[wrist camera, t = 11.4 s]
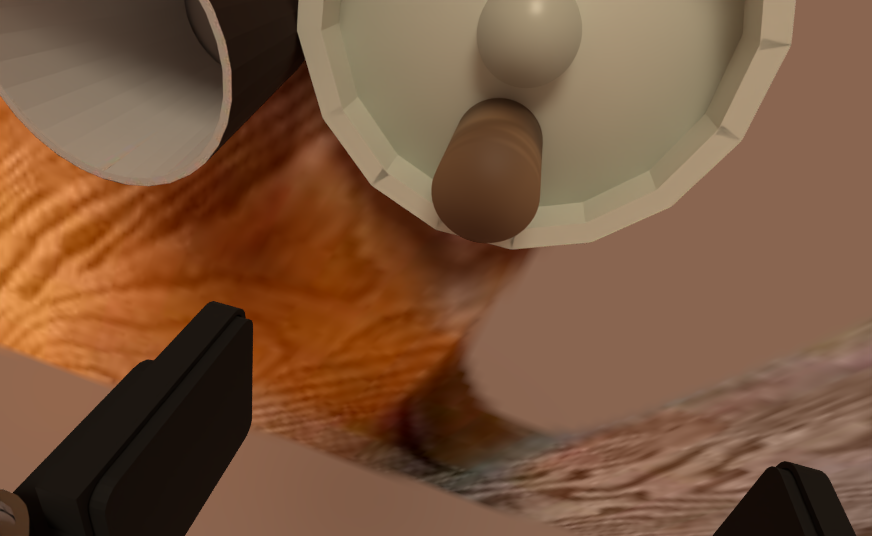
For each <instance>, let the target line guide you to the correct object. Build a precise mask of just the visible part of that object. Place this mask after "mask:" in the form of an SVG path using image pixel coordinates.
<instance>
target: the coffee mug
mask: <svg viewBox="0 0 872 536" xmlns="http://www.w3.org/2000/svg"><path fill="white" fill-rule="evenodd" d="M298 2H299V0H0V96H1V97H2V98H3V100H4V101H5V102H6V104H7V105H8V106H9V108H10V109H11V110H12V112H13V113H14V114H15V116H16V117H17V118H18V119H19V120H20V121H21V122H22V123H23V124H24V125H25V126H26V127H27V128H28V129H29V130H30V131H31V132H32V133H33V134H34V135H35V136H36V137H37V138H38V139H39V140H40V141H42V142H43V143H44V144H45V145H47V146H48V147H49V148H50V149H51V150H53V151H54V152H55V153H56V154H58V155H59V156H61V157H62V158H64V159H66V160H67V161H69V162H71V163H72V164H74V165H75V166H77V167H79V168H80V169H82V170H85V171H87V172H89V173H92V174H94V175H96V176H99V177H101V178H103V179H106V180H110V181H114V182H118V183H122V184H126V185H139V186H154V185H160V184H167V183H172V182H174V181H176V180H179V179H181V178H184V177H186V176H189V175H190V174H191V173H193V172H194V171H195V170H197V169H198V168H199V167H201V166H202V165H203V164H205V163H206V162H207V161H208V160H209V159H210V158H211V157H212V156H213V155H214V154H215V153H216V152H217V151H218V150H219V148H220V147H221V146H222V145H223V144H224V143H225V142H226V141H227V140H228V139H229V138H230V137H231V136H232V135H233V134H234V133H235V132H236V131H237V130H238V129H239V128H240V127H241V126H242V125H243V124H244V123H245V122H246V121H247V120H248V119H249V118H250V117H251V116H252V115H253V114H254V113H255V112H256V111H257V110H258V109H259V108H260V107H261V106H262V105H263V104H264V103H265V102H266V101H267V100H268V98H269V97H270V96H271V95H272V94H273V93H274V92H275V91H276V90H277V89H278V88H279V87H280V86H281V85H282V84H283V83H284V82H285V81H286V80H287V79H288V78H289V77H290V76H291V75H292V74H293V73H294V72H295V71H296V70H297V69H298V68H299V66H300V65H301V64H302V63H303V61H304V60H305V56H304V53H303V49H302V46H301V43H300V39H299V36H298V32H297V19H298Z"/></svg>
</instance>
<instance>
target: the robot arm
mask: <svg viewBox="0 0 872 536" xmlns="http://www.w3.org/2000/svg"><path fill="white" fill-rule="evenodd" d="M252 365H253V322H252V320H249V319H246V318H245V312H244V310H243V309H240V308H236V307H233V306H229V305H225V304H222V303H218V302H215V301H212V302H209V303H208V304H207V305H206V306H205V307H204V308H203V309H202V310H201V311H200V312H199V313H198V314H197V315H196V316H195V317H194V318H193V319H192V320H191V322H190V323H189V324H188V325H187V326H186V327H185V328H184V329H183V330H182V331H181V332H180V333H179V334H178V335H177V336H176V338H175V339H174V340H173V341H172V342H171V343H170V344H169V345H168V346H167V347H166V348H165V349H164V350H163V351H162V352H161V353H160V355H159V356H158V357H157V358H156V359H155V360H145V361H143V362H140V363H139V364H138V365H137V366H136V367H134V368H133V369H132V370H131V371H130V372H129V373H128V374H127V375H126V376H125V377H124V378H123V379H122V381H121V382H120V383H119V384H118V385H117V386H116V387H115V388H114V389H113V390H112V391H111V392H110V393H109V394H108V395H107V396H106V397H105V398H104V399H103V400H102V401H101V402H100V403H99V404H98V405H97V406H96V407H95V408H94V410H92V412H90V414H89V415H88V416H87V417H86V418H85V419H84V420H83V421H82V422H81V423H80V424H79V425H78V426H77V427H76V428H75V429H74V430H73V431H72V432H71V433H70V434H69V435H68V436H67V437H66V438H65V439H64V440H63V441H62V442H61V444H59V446H58V447H57V448H56V449H55V450H54V451H53V452H52V453H51V454H50V455H49V456H48V457H47V458H46V459H45V460H44V461H43V462H42V463H41V464H40V465H39V466H38V467H37V468H36V469H35V470H34V471H33V472H32V473H31V474H30V476H28V477H27V479H26V480H25V481H24V482H23V483H22V484H21V485H20V486H19V487H18V488H17V489H16V490H15V491H14V492H13V493H11V492H8V491H6V490H3V489H0V536H185V535H186V533H187V531H188V530H189V528H190V527H191V525H192V523H193V522H194V520H195V518H196V517H197V515H198V514H199V512H200V510H201V509H202V507H203V506H204V504H205V502H206V501H207V499H208V497H209V496H210V494H211V493H212V491H213V489H214V488H215V486H216V485H217V483H218V481H219V480H220V478H221V477H222V475H223V473H224V472H225V470H226V468H227V467H228V465H229V464H230V462H231V460H232V459H233V457H234V456H235V454H236V452H237V451H238V449H239V448H240V446H241V444H242V442H243V441H244V439H245V438H246V436H247V434H248V431H249V429H250V426H251V421H252ZM713 536H856V534H855V532H854V530H853V528H852V526H851V524H850V522H849V520H848V518H847V515H846V513H845V511H844V509H843V507H842V505H841V503H840V501H839V499H838V497H837V494H836V492H835V490H834V488H833V486H832V484H831V482H830V480H829V478H828V477H827V475H826V474H825V473H823V472H822V471H819V470H816V469H812V468H809V467H805V466H802V465H798V464H794V463H791V462H786V461H784V462H781V463H780V464H778V465H777V466H776V467H773V466H771V467H769V468H767V469H766V470H765V471H764V473H763V474H762V475H761V476H760V478H759V479H758V480H757V481H756V483H755V484H754V485H753V486H752V488H751V489H750V490H749V491H748V492H747V494H746V495H745V496H744V497H743V499H742V500H741V501H740V502H739V504H738V505H737V506H736V507H735V509H734V510H733V511H732V512H731V514H730V515H729V516H728V517H727V518H726V520H725V521H724V522H723V523H722V525H721V526H720V527H719V528H718V530H717V531H716V532H715V533H714V535H713Z"/></svg>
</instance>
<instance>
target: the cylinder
mask: <svg viewBox="0 0 872 536" xmlns="http://www.w3.org/2000/svg"><path fill="white" fill-rule="evenodd" d="M542 147H543V136H542V130H541V127H540V125H539V122H538V120H537V119H536V117H535V116H534V114H533V113H532V112H531V111H530V110H529V109H528V108H526V107H525V106H524V105H522V104H521V103H518V102H516V101H514V100H511V99H506V98H491V99H487V100H484V101H481V102H479V103H477V104H475V105H474V106H472V107H471V108H470V109H469V110H468V111H467V112H466V113H465V114H464V115H463V117H462V118H461V120H460V121H459V124H458V126H457V128H456V130H455V132H454V134H453V136H452V138H451V140H450V142H449V145H448V147H447V149H446V151H445V153H444V155H443V157H442V159H441V161H440V163H439V166H438V168H437V170H436V172H435V174H434V177H433V181H432V187H431V195H432V202H433V205H434V208H435V210H436V213H437V215H438V216H439V218H440V219H441V221H442V222H443V223H444V224H445V225H446V226H447V227H448V228H449V229H450V230H451V231H452V232H454V233H455V234H457V235H459V236H460V237H462V238H465V239H467V240H470V241H474V242H479V243H495V242H501V241H505V240H507V239H510V238H512V237H514V236H516V235H518V234H519V233H520V232H522V231H523V230H524V229H525V228H526V227H527V226H528V225H529V224H530V223H531V221H532V220H533V218H534V216H535V215H536V212H537V210H538V206H539V202H540V188H541V168H542Z"/></svg>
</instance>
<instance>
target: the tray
mask: <svg viewBox="0 0 872 536" xmlns="http://www.w3.org/2000/svg"><path fill="white" fill-rule="evenodd" d="M795 4H796V0H299V2H298V19H297V32H298V36H299V39H300V43H301V46H302V49H303V53H304V56H305V60H306V63H307V66H308V70H309V73H310V77H311V80H312V83H313V87H314V90H315V94H316V97H317V100H318V104H319V107H320V111H321V114H322V117H323V119H324V121H325V122H326V123H327V125H328V126H329V127H330V129H331V130H332V132H333V133H334V134H335V136H336V137H337V139H338V140H339V141H340V143H341V144H342V145H343V147H344V148H345V150H346V151H347V152H348V154H349V155H350V157H351V158H352V159H353V161H354V162H355V163H356V165H357V166H358V168H359V169H360V170H361V172H362V173H363V175H364V176H365V177H366V179H367V180H368V181H369V183H370V184H371V186H373V187H374V188H376V189H377V190H379V191H380V192H382V193H383V194H385V195H386V196H387V197H389V198H390V199H392V200H393V201H395V202H396V203H398V204H399V205H401V206H402V207H404V208H405V209H406V210H408V211H409V212H411V213H412V214H414V215H415V216H417V217H418V218H420V219H421V220H422V221H424V222H425V223H427V224H428V225H430V226H431V227H433V228H434V229H436V230H439V231H442V232H446V233H450V234H454V235H457V234H455V233H454V232H452V231H451V230H450V229H449V228H448V227H447V226H446V225H445V224H444V223H443V222H442V221H441V219H440V218H439V216H438V215H437V213H436V210H435V208H434V205H433V202H432V195H431V187H432V181H433V177H434V174H435V172H436V170H437V168H438V166H439V163H440V161H441V159H442V157H443V155H444V153H445V151H446V149H447V147H448V145H449V142H450V140H451V138H452V136H453V134H454V132H455V130H456V128H457V126H458V124H459V121H460V120H461V118H462V117H463V115H464V114H465V113H466V112H467V111H468V110H469V109H470V108H471V107H472V106H474V105H475V104H477V103H479V102H481V101H484V100H487V99H491V98H506V99H511V100H514V101H516V102H518V103H521V104H522V105H524V106H525V107H526V108H528V109H529V110H530V111H531V112H532V113H533V114H534V116H535V117H536V119H537V120H538V122H539V125H540V127H541V130H542V136H543V147H542V168H541V188H540V202H539V206H538V210H537V212H536V215H535V216H534V218H533V220H532V221H531V223H530V224H529V225H528V226H527V227H526V228H525V229H524V230H523V231H522V232H520V233H519V234H518V235H516V236H514V237H512V238H510V239H507V240H505V241H501V242H495V243H488V244H492V245H496V246H500V247H503V248H507V249H522V248H534V247H546V246H558V245H569V244H581V243H591V242H594V241H596V240H598V239H601V238H603V237H605V236H607V235H609V234H612V233H614V232H616V231H618V230H621V229H622V228H625V227H627V226H630V225H632V224H634V223H636V222H638V221H641V220H643V219H645V218H647V217H650V216H652V215H654V214H656V213H659V212H661V211H663V210H665V209H668V208H670V207H671V206H673V205H674V204H675V203H676V202H677V201H678V200H679V199H680V198H681V197H682V196H683V195H684V194H685V193H686V192H688V190H690V189H691V188H692V187H693V186H694V185H695V184H696V183H697V182H698V181H699V180H700V179H701V178H702V177H704V176H705V175H706V174H707V173H708V172H709V171H710V170H711V169H712V168H713V167H714V166H715V165H716V164H717V163H718V162H720V161H721V160H722V159H723V158H724V157H725V156H726V155H727V154H728V153H729V152H730V151H731V150H732V149H733V148H734V147H736V146H737V145H738V144H739V143H740V142H741V141H742V139H743V137H744V135H745V133H746V131H747V129H748V128H749V125H750V124H751V121H752V120H753V118H754V116H755V114H756V112H757V110H758V108H759V106H760V104H761V102H762V100H763V98H764V96H765V95H766V93H767V91H768V89H769V87H770V85H771V83H772V81H773V79H774V77H775V75H776V73H777V71H778V69H779V67H780V65H781V63H782V61H783V60H784V58H785V56H786V54H787V52H788V50H789V48H790V46H791V41H792V32H793V21H794V13H795ZM458 236H459V235H458Z"/></svg>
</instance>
